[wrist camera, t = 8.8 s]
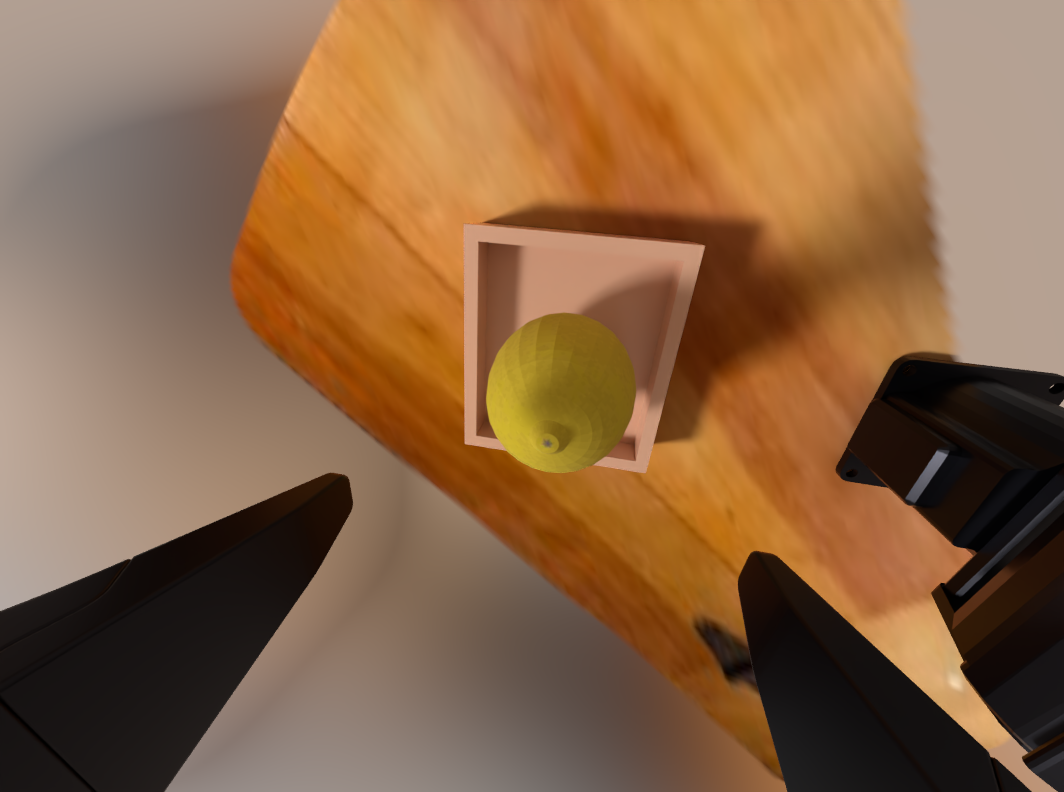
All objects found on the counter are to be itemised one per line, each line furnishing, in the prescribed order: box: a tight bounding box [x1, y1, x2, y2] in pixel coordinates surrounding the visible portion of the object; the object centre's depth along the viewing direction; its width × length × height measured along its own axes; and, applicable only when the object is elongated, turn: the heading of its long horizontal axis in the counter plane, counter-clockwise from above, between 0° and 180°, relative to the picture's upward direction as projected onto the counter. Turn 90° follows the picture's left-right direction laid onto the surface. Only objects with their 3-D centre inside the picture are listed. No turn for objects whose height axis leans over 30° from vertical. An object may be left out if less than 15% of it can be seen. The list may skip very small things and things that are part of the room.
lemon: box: [486, 312, 636, 473], centre depth 14 cm, size 6×6×8 cm
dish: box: [464, 223, 705, 473], centre depth 18 cm, size 9×10×2 cm
